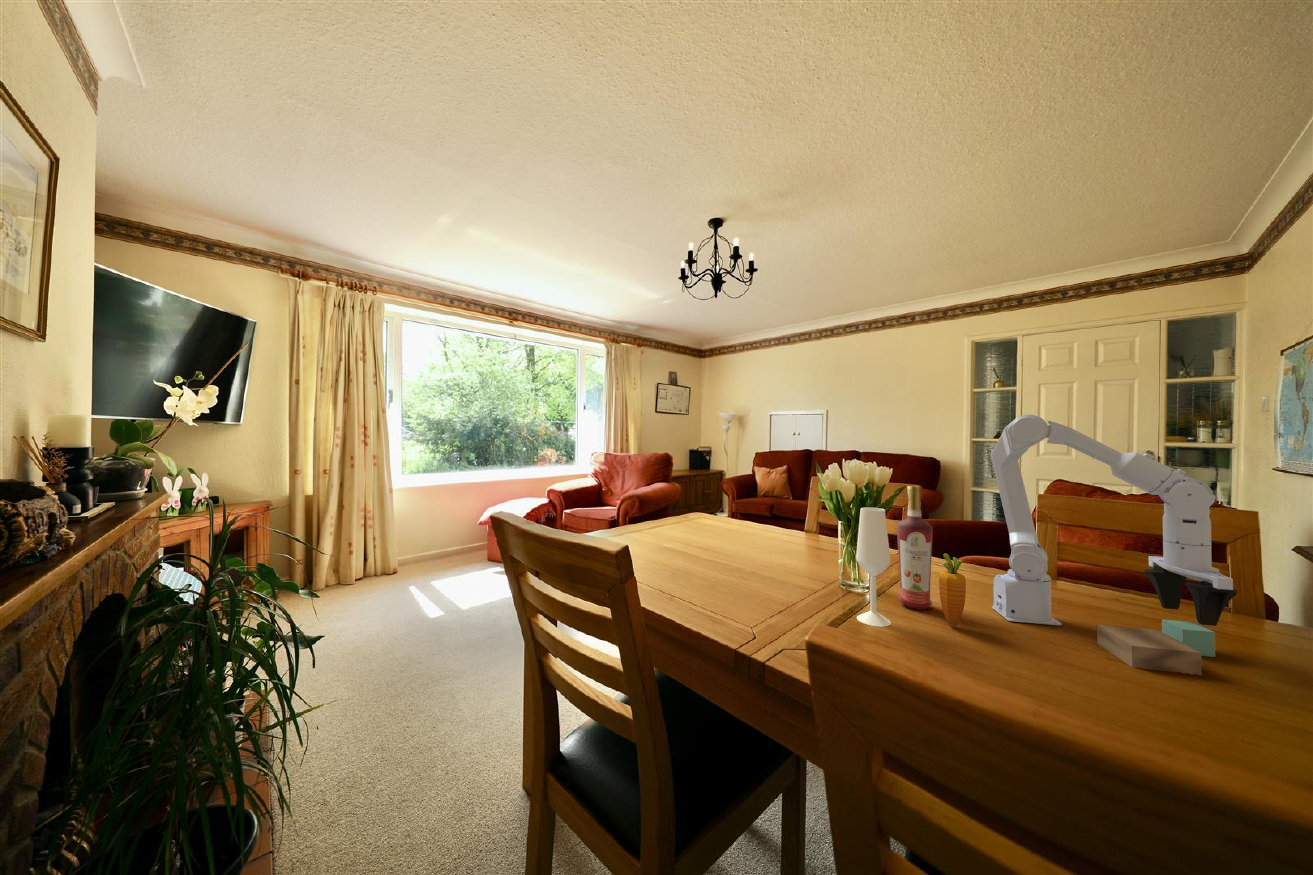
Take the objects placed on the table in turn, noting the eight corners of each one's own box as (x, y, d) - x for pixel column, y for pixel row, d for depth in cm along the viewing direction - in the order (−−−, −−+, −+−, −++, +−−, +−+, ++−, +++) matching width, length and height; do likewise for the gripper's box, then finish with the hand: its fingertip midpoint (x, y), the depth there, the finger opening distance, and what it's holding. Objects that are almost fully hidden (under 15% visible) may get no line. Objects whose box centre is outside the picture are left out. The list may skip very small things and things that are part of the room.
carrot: (972, 633, 88) (971, 558, 89) (944, 631, 89) (943, 557, 90) (960, 623, 93) (959, 552, 93) (934, 621, 94) (933, 551, 94)
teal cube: (1183, 654, 80) (1182, 629, 80) (1162, 643, 84) (1161, 619, 84) (1215, 657, 79) (1215, 632, 79) (1192, 645, 83) (1192, 621, 83)
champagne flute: (873, 612, 100) (873, 506, 100) (898, 624, 93) (897, 510, 93) (849, 616, 98) (848, 507, 98) (873, 628, 91) (872, 512, 91)
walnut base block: (1132, 669, 75) (1131, 645, 75) (1097, 645, 84) (1097, 624, 84) (1201, 677, 73) (1201, 652, 73) (1158, 651, 81) (1158, 630, 81)
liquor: (899, 609, 101) (898, 487, 101) (895, 598, 108) (894, 484, 108) (936, 614, 98) (935, 488, 98) (930, 602, 105) (929, 485, 105)
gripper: (1256, 553, 73) (1258, 635, 73) (1179, 535, 87) (1180, 603, 87) (1201, 550, 75) (1203, 630, 75) (1135, 533, 89) (1136, 600, 89)
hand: (1187, 616), depth 81 cm, fingers open, 7 cm apart
